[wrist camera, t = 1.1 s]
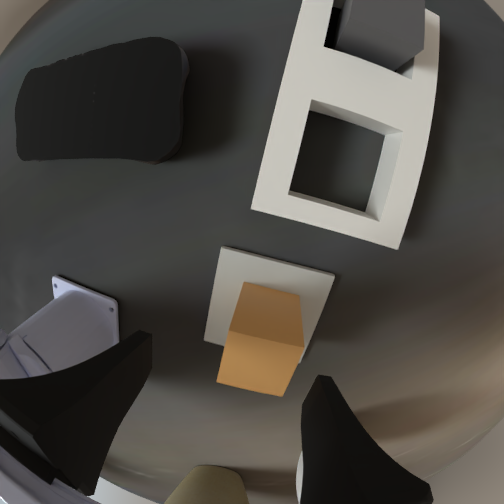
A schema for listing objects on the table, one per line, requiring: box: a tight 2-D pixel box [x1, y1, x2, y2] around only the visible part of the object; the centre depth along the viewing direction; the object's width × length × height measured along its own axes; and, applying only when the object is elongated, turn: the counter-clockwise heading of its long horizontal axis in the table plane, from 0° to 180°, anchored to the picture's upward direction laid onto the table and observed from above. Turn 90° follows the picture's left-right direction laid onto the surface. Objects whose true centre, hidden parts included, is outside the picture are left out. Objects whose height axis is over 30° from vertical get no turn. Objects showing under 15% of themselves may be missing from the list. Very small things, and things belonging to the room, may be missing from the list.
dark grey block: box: [332, 0, 425, 72], centre depth 11 cm, size 4×4×6 cm
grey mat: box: [204, 246, 335, 363], centre depth 20 cm, size 8×8×1 cm
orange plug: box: [216, 282, 305, 397], centre depth 17 cm, size 4×4×6 cm
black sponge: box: [15, 37, 190, 164], centre depth 15 cm, size 16×8×4 cm, turn 82°
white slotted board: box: [251, 0, 439, 250], centre depth 13 cm, size 23×9×3 cm, turn 167°
